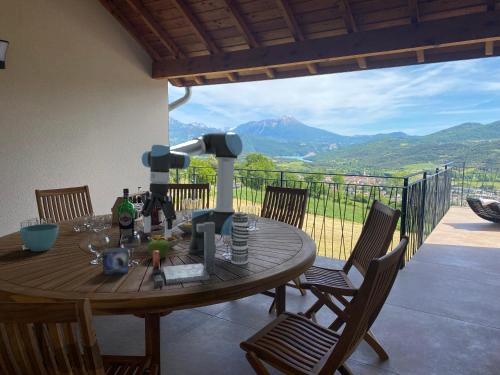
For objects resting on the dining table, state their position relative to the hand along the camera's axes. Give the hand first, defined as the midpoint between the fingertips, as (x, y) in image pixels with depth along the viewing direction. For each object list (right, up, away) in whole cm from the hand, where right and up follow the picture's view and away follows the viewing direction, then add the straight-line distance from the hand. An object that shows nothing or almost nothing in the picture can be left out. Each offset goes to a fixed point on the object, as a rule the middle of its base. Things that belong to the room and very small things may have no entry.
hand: (157, 234), depth 142 cm
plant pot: (-77, -15, +48) cm, 91 cm away
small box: (-23, -19, +15) cm, 33 cm away
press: (+9, -20, +12) cm, 25 cm away
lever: (-4, -18, +13) cm, 23 cm away
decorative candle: (+33, -18, +32) cm, 50 cm away
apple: (-9, -17, +36) cm, 41 cm away
